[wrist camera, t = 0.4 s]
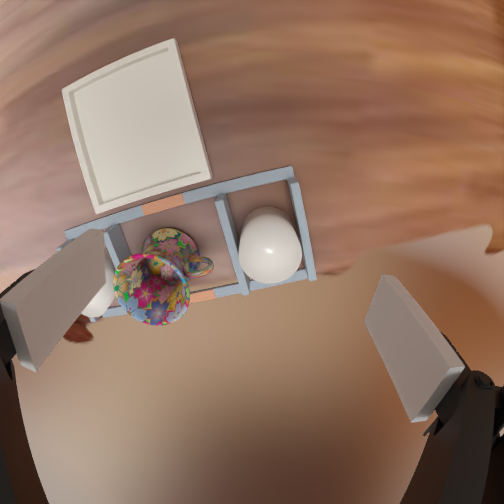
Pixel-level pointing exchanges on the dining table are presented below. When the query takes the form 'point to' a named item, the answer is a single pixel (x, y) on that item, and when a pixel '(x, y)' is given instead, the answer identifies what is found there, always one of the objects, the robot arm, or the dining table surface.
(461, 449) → the robot arm
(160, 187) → the tray
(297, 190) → the rack
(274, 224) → the white glossy dome
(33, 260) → the dining table surface
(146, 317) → the mug
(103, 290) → the white rounded egg
